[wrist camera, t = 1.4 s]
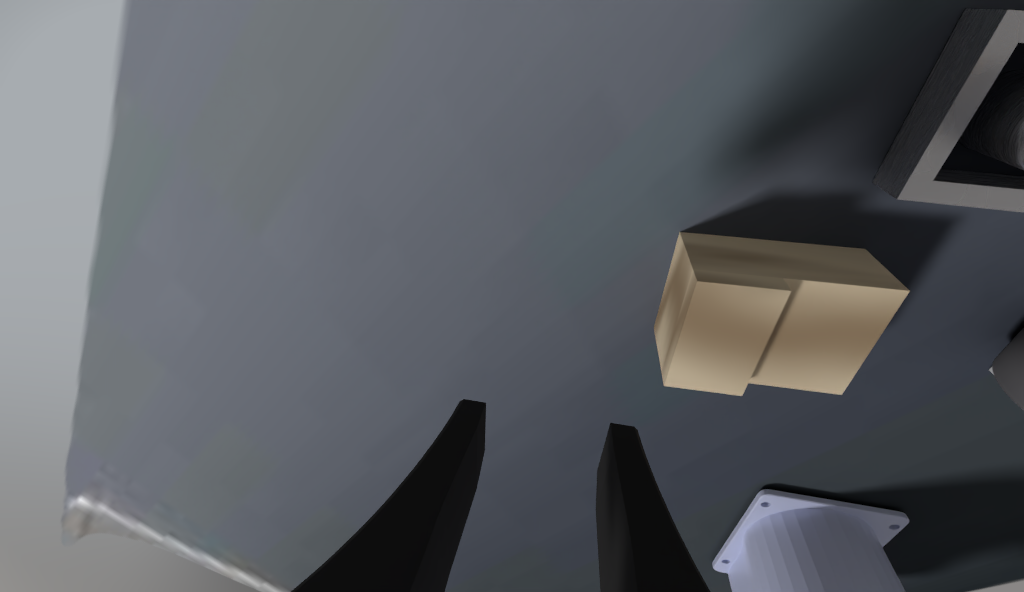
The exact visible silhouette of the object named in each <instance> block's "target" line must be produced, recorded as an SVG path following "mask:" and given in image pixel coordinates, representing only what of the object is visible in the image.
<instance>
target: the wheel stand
mask: <svg viewBox="0 0 1024 592" xmlns="http://www.w3.org/2000/svg"><path fill="white" fill-rule="evenodd" d="M989 371H990V372H991V373H992V374H993V375H994V376H995V378H996V380H997V382H998V384H999V385H1000V386H1001V388H1002V389H1003V390H1004V392H1005V393H1006V394H1007V395H1008V396H1009V397H1010V398H1011V399H1012V400H1013V401H1014V402H1015V403H1016V404H1017V405H1018V406H1019V407H1020V408H1022V409H1023V410H1024V328H1023V329H1022V330H1021V331H1020V332H1019V333H1018V334H1017V335H1016V336H1015V338H1014V339H1013V340H1012V341H1011V342H1010V343H1009V344H1008V345H1007V346H1006V347H1005V348H1004V350H1003V351H1002V352H1001V353H1000V354H999V355H998V356H997V357H996V358H995V359H994V361H993V364H992V367H991V368H990V369H989Z"/></svg>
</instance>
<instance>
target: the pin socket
mask: <svg viewBox="0 0 1024 592" xmlns="http://www.w3.org/2000/svg"><path fill="white" fill-rule="evenodd" d="M1018 43H1024V11H1022V10H1001V9H965V10H964V12H963V14H962V16H961V18H960V20H959V22H958V23H957V25H956V27H955V29H954V31H953V33H952V35H951V36H950V38H949V40H948V42H947V44H946V46H945V48H944V49H943V51H942V53H941V55H940V57H939V59H938V61H937V62H936V64H935V66H934V68H933V70H932V72H931V74H930V75H929V77H928V79H927V81H926V83H925V85H924V87H923V88H922V90H921V92H920V94H919V96H918V98H917V100H916V102H915V103H914V105H913V107H912V109H911V111H910V113H909V115H908V116H907V118H906V120H905V122H904V124H903V126H902V128H901V129H900V131H899V133H898V135H897V137H896V139H895V141H894V142H893V144H892V146H891V148H890V150H889V152H888V154H887V155H886V157H885V159H884V161H883V163H882V165H881V167H880V168H879V170H878V172H877V174H876V176H875V178H874V180H873V182H872V183H873V184H875V185H876V186H878V187H879V188H881V189H882V190H884V191H885V192H887V193H888V194H890V195H891V196H893V197H894V198H896V199H899V200H909V201H919V202H928V203H938V204H948V205H957V206H967V207H977V208H987V209H996V210H1006V211H1016V212H1024V176H1013V175H1003V174H992V173H982V172H971V171H961V170H950V169H941V167H942V166H943V164H944V162H945V161H946V159H947V157H948V156H949V154H950V153H951V151H952V149H953V148H954V146H955V144H956V143H957V141H958V140H959V138H960V136H961V135H962V133H963V132H964V130H965V128H966V127H967V125H968V123H969V122H970V120H971V119H972V117H973V115H974V114H975V112H976V111H977V109H978V107H979V106H980V104H981V102H982V101H983V99H984V98H985V96H986V94H987V93H988V91H989V89H990V88H991V86H992V85H993V83H994V81H995V80H996V78H997V77H998V75H999V73H1000V72H1001V70H1002V68H1003V67H1004V65H1005V64H1006V62H1007V60H1008V59H1009V57H1010V56H1011V54H1012V52H1013V51H1014V49H1015V47H1016V46H1017V44H1018Z"/></svg>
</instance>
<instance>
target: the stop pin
mask: <svg viewBox="0 0 1024 592" xmlns="http://www.w3.org/2000/svg"><path fill="white" fill-rule="evenodd" d="M958 141H959V142H960V143H961V144H962V145H963V146H965V147H967V148H969V149H972V150H974V151H977V152H979V153H982V154H984V155H987V156H989V157H992V158H994V159H997V160H999V161H1002V162H1004V163H1007V164H1009V165H1012V166H1014V167H1017V168H1019V169H1022V170H1024V70H1016V71H1011V72H1008V73H1005V74H1002V75H1000V76H998V77H997V78H996V80H995V81H994V83H993V85H992V86H991V88H990V89H989V91H988V93H987V94H986V96H985V98H984V99H983V101H982V102H981V104H980V106H979V107H978V109H977V111H976V112H975V114H974V115H973V117H972V119H971V120H970V122H969V123H968V125H967V127H966V128H965V130H964V132H963V133H962V135H961V136H960V138H959V140H958Z"/></svg>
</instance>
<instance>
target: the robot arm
mask: <svg viewBox="0 0 1024 592" xmlns="http://www.w3.org/2000/svg"><path fill="white" fill-rule="evenodd" d="M485 419H486V403H484V402H478V401H472V400H465V399H463V400H462V401H460V402H459V404H458V406H457V407H456V409H455V411H454V412H453V414H452V416H451V417H450V419H449V420H448V422H447V424H446V425H445V427H444V428H443V430H442V431H441V432H440V434H439V435H438V437H437V438H436V440H435V441H434V442H433V444H432V445H431V446H430V448H429V449H428V450H427V452H426V453H425V454H424V456H423V457H422V458H421V460H420V461H419V462H418V464H417V465H416V466H415V467H414V469H413V470H412V471H411V472H410V474H409V475H408V476H407V477H406V478H405V480H404V481H403V482H402V483H401V484H400V485H399V487H398V488H397V489H396V490H395V491H394V493H393V494H392V495H391V496H390V497H389V498H388V500H387V501H386V502H385V503H384V504H383V505H382V506H381V507H380V508H379V509H378V510H377V512H376V513H375V514H374V515H373V516H372V517H371V518H370V519H369V520H368V521H367V522H366V523H365V524H364V525H363V526H362V527H361V528H360V529H359V530H358V531H357V532H356V533H355V534H354V535H353V536H352V537H351V538H350V539H349V540H348V541H347V542H346V543H345V544H344V545H343V546H342V547H341V548H340V549H339V550H338V551H337V552H336V553H335V554H334V555H332V556H331V557H330V558H329V559H328V560H327V561H326V562H325V563H324V564H323V565H322V566H320V567H319V568H318V569H317V570H316V571H315V572H314V573H312V574H311V575H310V576H309V577H308V578H307V579H305V580H304V581H303V582H302V583H301V584H300V585H298V586H297V587H296V588H295V589H294V590H293V591H291V592H445V588H446V584H447V581H448V577H449V574H450V570H451V567H452V564H453V561H454V558H455V555H456V552H457V549H458V545H459V542H460V539H461V536H462V533H463V530H464V527H465V523H466V520H467V517H468V514H469V511H470V508H471V505H472V501H473V498H474V495H475V492H476V489H477V484H478V480H479V475H480V470H481V466H482V461H483V456H484V451H485ZM596 522H597V539H598V556H599V572H600V589H601V592H710V590H709V588H708V587H707V585H706V583H705V582H704V580H703V578H702V576H701V574H700V573H699V571H698V569H697V567H696V565H695V563H694V561H693V560H692V558H691V556H690V554H689V552H688V550H687V548H686V546H685V544H684V542H683V540H682V538H681V536H680V534H679V532H678V530H677V528H676V526H675V524H674V522H673V519H672V517H671V515H670V513H669V511H668V508H667V506H666V504H665V502H664V499H663V497H662V495H661V493H660V490H659V488H658V486H657V483H656V481H655V478H654V476H653V473H652V471H651V468H650V466H649V463H648V460H647V458H646V455H645V452H644V449H643V446H642V443H641V440H640V437H639V434H638V430H637V429H636V428H635V427H633V426H626V425H620V424H614V423H610V427H609V430H608V434H607V437H606V441H605V445H604V448H603V452H602V456H601V459H600V463H599V467H598V471H597V492H596ZM908 523H909V519H908V517H907V515H906V514H905V513H903V512H900V511H894V510H888V509H883V508H877V507H871V506H865V505H859V504H853V503H847V502H842V501H836V500H830V499H824V498H818V497H812V496H806V495H800V494H795V493H789V492H783V491H777V490H771V489H764V490H761V491H760V492H759V493H758V494H757V495H756V497H755V498H754V500H753V501H752V503H751V504H750V506H749V507H748V509H747V511H746V512H745V514H744V515H743V517H742V518H741V520H740V521H739V523H738V524H737V526H736V527H735V529H734V530H733V532H732V533H731V535H730V536H729V538H728V539H727V541H726V542H725V544H724V545H723V547H722V548H721V550H720V551H719V553H718V554H717V556H716V557H715V559H714V561H713V563H712V564H713V568H714V569H715V570H716V571H719V572H724V573H728V576H729V580H730V585H731V589H732V592H905V590H904V588H903V586H902V584H901V582H900V580H899V578H898V577H897V575H896V573H895V571H894V569H893V567H892V565H891V563H890V561H889V559H888V557H887V555H886V553H885V552H884V550H883V548H882V547H884V546H885V545H886V544H887V543H888V542H889V541H890V540H891V539H892V538H893V537H894V536H895V535H897V534H898V533H899V532H900V531H901V530H902V529H903V528H904V527H905V526H906V525H907V524H908Z"/></svg>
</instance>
